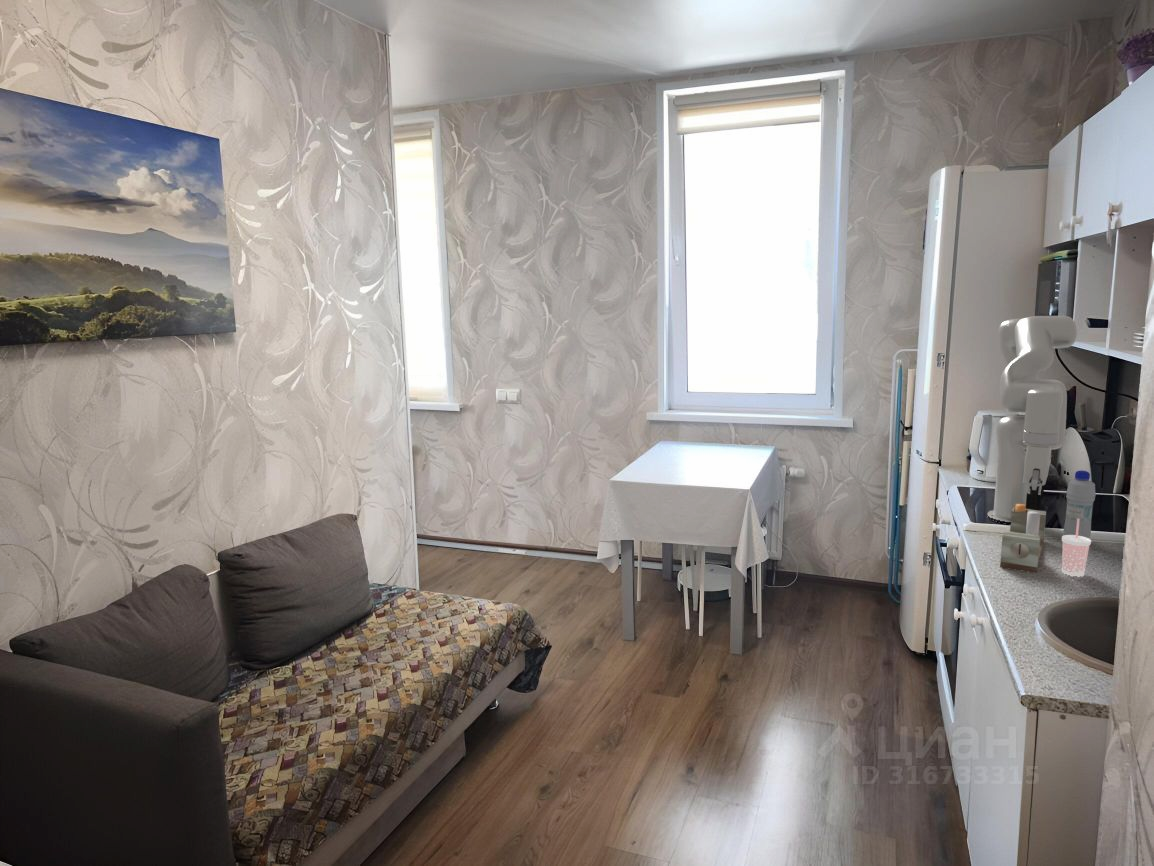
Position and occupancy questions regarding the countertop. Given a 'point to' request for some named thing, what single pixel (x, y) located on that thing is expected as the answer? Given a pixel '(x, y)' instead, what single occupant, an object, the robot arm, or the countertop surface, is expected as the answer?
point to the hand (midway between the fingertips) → (1034, 503)
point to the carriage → (1033, 523)
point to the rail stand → (1022, 543)
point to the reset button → (1020, 508)
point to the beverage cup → (1075, 553)
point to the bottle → (1079, 504)
